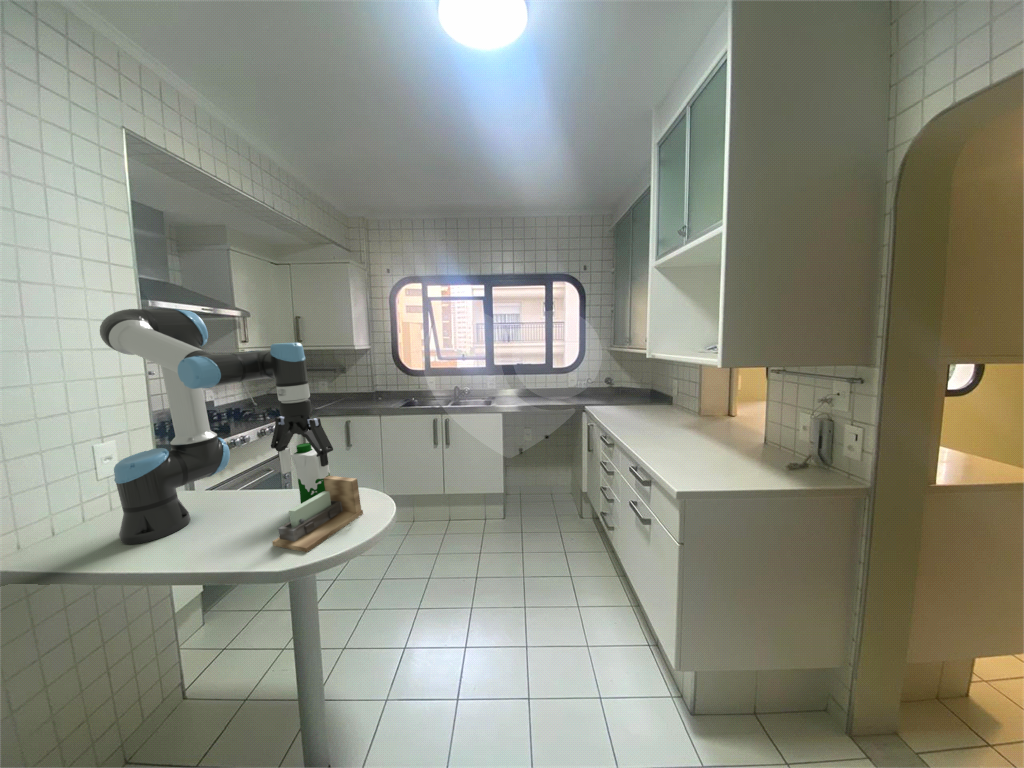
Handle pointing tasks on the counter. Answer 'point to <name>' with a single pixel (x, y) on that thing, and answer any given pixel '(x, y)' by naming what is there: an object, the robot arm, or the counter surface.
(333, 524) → the wooden stand with tray
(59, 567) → the counter surface
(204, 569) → the counter surface
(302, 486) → the milk carton
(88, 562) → the counter surface
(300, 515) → the pale green rectangular block
